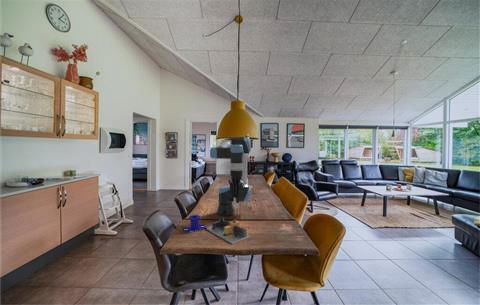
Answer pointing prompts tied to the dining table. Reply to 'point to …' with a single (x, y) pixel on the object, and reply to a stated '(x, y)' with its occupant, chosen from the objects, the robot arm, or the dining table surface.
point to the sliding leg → (230, 227)
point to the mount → (194, 224)
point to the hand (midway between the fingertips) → (236, 207)
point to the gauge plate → (232, 238)
